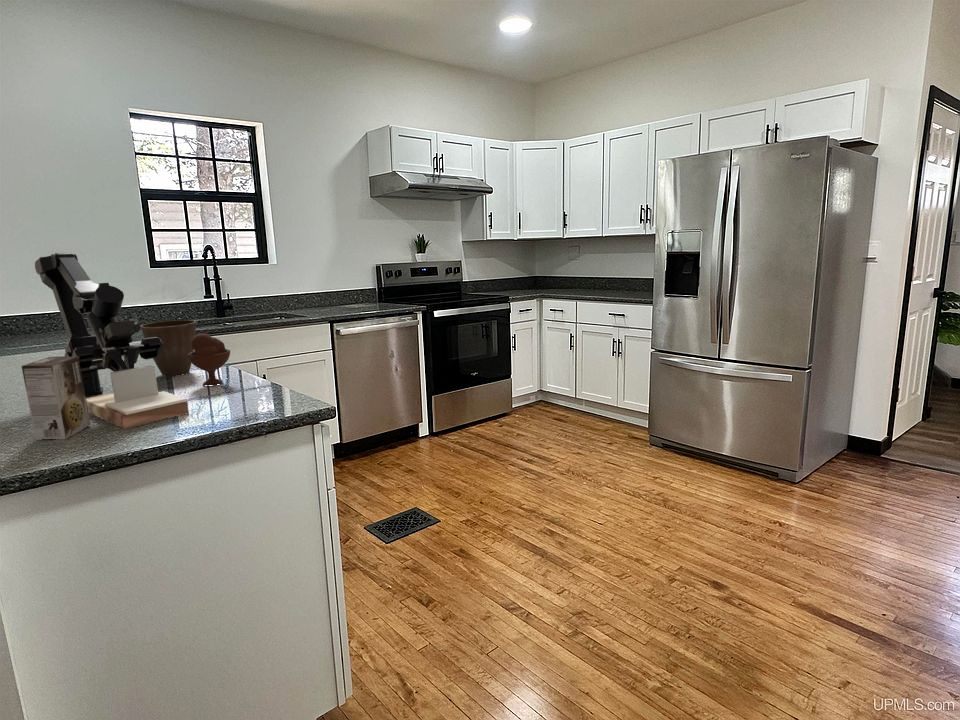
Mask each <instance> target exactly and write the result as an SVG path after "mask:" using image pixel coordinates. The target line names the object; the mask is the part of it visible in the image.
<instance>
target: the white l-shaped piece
mask: <svg viewBox="0 0 960 720" xmlns="http://www.w3.org/2000/svg"><path fill="white" fill-rule="evenodd" d="M110 379H111V386H112V391H113V392H112V393H114V399H115V401H114V402H109V403H105V406H106V407H109V408H111V409H114V410H116V411H118V412H121V413H123V414H125V415H128V414H133V413H137V412H141V411H146V410H150V409H155V408H159V407H163V406H168V405H172V404H177V403H181V402H185V401H187V402H188V400H187V397H182V396H179V395H176V394H173V393H170V392H167V391H163V390H162V391H159V389H158V383H157V382H158V381H157V376H156V367H155V365H145V366H139V367H134V368H133V369H127V370H121V371H116V372H114V371H110Z"/></svg>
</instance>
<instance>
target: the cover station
mask: <svg viewBox="0 0 960 720" xmlns="http://www.w3.org/2000/svg"><path fill="white" fill-rule="evenodd" d="M114 401H115V399H114V393H113V392H110V393H107V394H101V395H97V396H92V397H91V396H90V397H86V402H87V407H88V412H90V413H89V414H91V413H92V414H91V415H93V414H94V415H93V416H95V415H96V416H95V417H97V416H99V417H101V418H103V419H102V420H104V419H105V420H104V421H106V420H107V421H106V422H108V421H109V422H108V423H110V422H112V423H113V424H112V423H111V424H112V425H114V424H116V425H118V426H117V427H119V426H120V427H119V428H121V427H122V428H121V429H123V428H124V429H123V430H126V429H125V428H127V429H130V428H129V427H131V428H134V427H133V426H135V427H138V425H139V426H143V425H146V424H151V422H152V423H155V422H154V421H156V422H159V421H158V420H160V421H162V420H161V419H164V420H166V419H165V418H168V419H171V418H170V417H172V418H175V416H176V417H180V416H183V414H184V415H187V414H186V413H188V414H190V411H189V404H188V400H187V401H185V402H181V403H177V404H172V405H168V406H163V407H159V408H155V409H150V410H146V411H141V412H137V413H133V414H128V415H125V414H123V413H121V412H118V411H116V410H114V409H111V408H109V407H106V406H105V403H109V402H114ZM179 415H180V416H179ZM99 417H98V418H99ZM101 418H100V419H101ZM142 424H143V425H142ZM116 425H115V426H116Z"/></svg>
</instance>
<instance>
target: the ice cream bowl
mask: <svg viewBox="0 0 960 720" xmlns="http://www.w3.org/2000/svg"><path fill="white" fill-rule="evenodd" d="M191 347H192V348H193V349H194V351H193V352H191V353H189V354H187V356H188V358H189V360H190V362H191V365H193V366H194V367H195V368H198V369H199V370H201V371H205V372H207V374H208V379H207V380H205V381H204V382H202V384H201V385H217V384H221V383H222V382H223V380H220V379H218V378H217V377H216V370H218V369H220V368H222V367H223V366H224V365H225V364H226V363H227V362H228V361H229V358H230V356H231V349H227V348H226V347H225V343H224V342H223V341H222V340H220V339H219V338H217V337H212V336H211V334H208V333H198V334H195V336H194V337H193V339H192V340H191ZM223 383H224V382H223Z"/></svg>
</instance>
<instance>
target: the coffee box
mask: <svg viewBox="0 0 960 720" xmlns="http://www.w3.org/2000/svg"><path fill="white" fill-rule="evenodd" d="M20 366H21V371H22V375H23V381H24V386H25V391H26V396H27V400H28V401H27V402H28V407H29V411H30V417H31V422H32V428H33V432H34V437H35V440H36V441H43V440H42V439H56V440H67V439H68V438H70V436H71V437H72V436H74V435H76V434H78V433H80V432H81V431H83V430H84V428H85V429H87V428H88V427H90V426H91V425H92V424H91V418H90V413H88V407H87V402H86V398H87V395H85V390H84V385H83V379H82V374H81V368H80V363H79V358H78V356H76V357H67V356H65V355H63V356H62V355H61V356H47V357H46V358H42V359H39V360H35V361H32V362H29V363H27V364H24V365H20ZM89 425H90V426H89ZM87 426H88V427H87ZM86 427H87V428H86ZM82 429H83V430H82ZM77 432H78V433H77Z"/></svg>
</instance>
